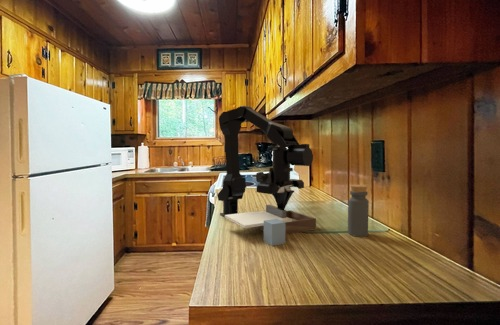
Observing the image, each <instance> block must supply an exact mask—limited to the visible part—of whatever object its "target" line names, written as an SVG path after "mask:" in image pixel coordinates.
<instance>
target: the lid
mask: <svg viewBox="0 0 500 325" xmlns="http://www.w3.org/2000/svg"><path fill="white" fill-rule="evenodd" d="M286 211H287V210H286V209H281V208H278V206H275V205H272V204H266V205H265V209H264V210H258V211H256V210H255V211H249V212H248V211H247V212H238V214H229V215H225V217H224V218H225V219H227V220H229V221H231V222H233V223H234V224H236V225H238V226H240V227H241V228H243V229H248V228H257V226H264V221H265V220H272V219H278V220H281V221H283V222H292V219H291V218H288V217H286Z"/></svg>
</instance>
